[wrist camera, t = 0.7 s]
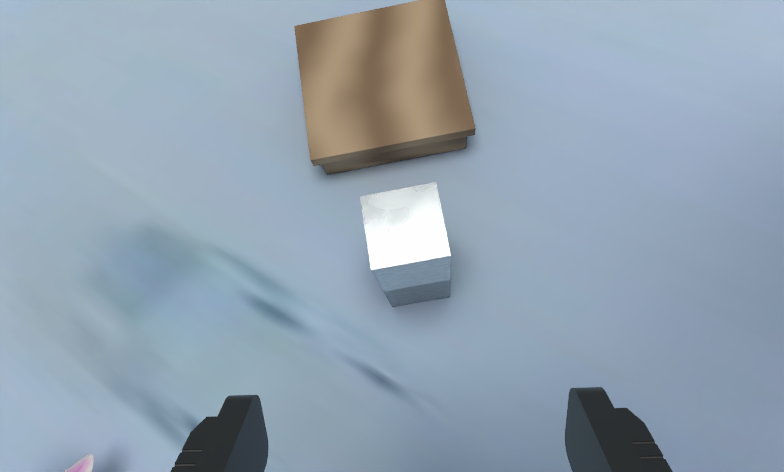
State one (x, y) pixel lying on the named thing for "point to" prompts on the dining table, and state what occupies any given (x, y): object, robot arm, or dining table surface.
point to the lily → (82, 465)
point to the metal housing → (408, 244)
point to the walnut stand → (382, 86)
